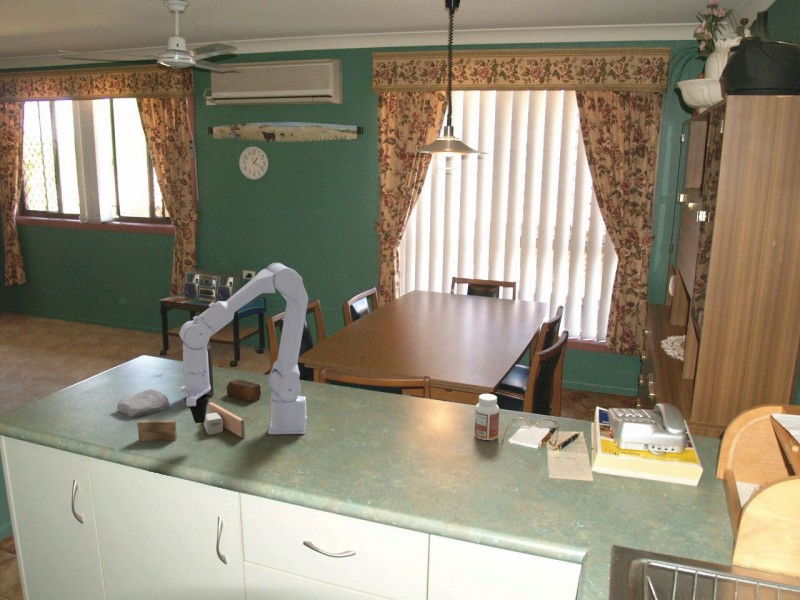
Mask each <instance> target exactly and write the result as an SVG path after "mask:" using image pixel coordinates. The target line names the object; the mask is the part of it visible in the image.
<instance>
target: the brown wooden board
mask: <svg viewBox="0 0 800 600" xmlns="http://www.w3.org/2000/svg"><path fill="white" fill-rule="evenodd" d="M137 431H138V433H137V434H138V441H139V442H154V441H155V442H157V441H158V442H159V441H160V442H161V441H163V442H164V441H166V442H167V441H177V438H178V436H177V435H178V434H177V433H178V432H177V420H176V419H172V420H171V419H164V420H163V419H158V420H157V419H156V420H138V421H137Z"/></svg>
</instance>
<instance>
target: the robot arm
mask: <svg viewBox="0 0 800 600" xmlns="http://www.w3.org/2000/svg"><path fill="white" fill-rule="evenodd" d="M276 291H278V292H279V294H280V295H281V297H283V299H285V301H286V306H285V311H284V318H283V325H282V330H281V335H280V342H279V348H278V354H277V359H276V360H275V362H274V363H273V364H272V365H273V366H272V368H271V371H270V373H268V376H267V385H268V386H269V388H270V389H271V393H270V398H269V399H270V425H269V428H268V432H267V434H268V435H297V434H298V435H302V434H303V435H304V434H305V433H306V430H307V429H306V428H307V424H308V416H307V397H306V396H302V395H300V394H301V391H302V384H301V382H300V377H301V373H300V370H299V369H300V368H299V364H298V363H299V355H300V350H301V346H302V345H301V344H302V339H303V338H302V337H303V332H304V327H305V321H306V316H307V309H308V303H309V296H308V293H307V290H306V288H305V286H304V282H303V277H302V276H301V275H300V274H299V273H298V272H297V271H296V270H295V269H293V268H290V267H288V266H285V265H284V264H283V263H281V262H273V263H271V264H270V263H269V265H268V266H267V267H266V268H263V269H261V270H260V271H259V272H258V273H257V274H256V275H255V276H254V277H253V278H251V280H250V281H248V282H247V283H246V284H245V285H243V286H241V288H240V289H239V290H237V291H236V292H235V293H234V294H233V295H232V296H230V297H229V298H228V299H227V300H224V301H223V300H218V301H216V302H213V301H212V302H210V304H208V306H209V307H208V308H207V309H205V311H203V312H202V313H201V314H199V315H195V316H193V317H192V319H193V320H188V321H186V322H185V323H183V325H181V328H180V329H179V330H180V331H179V332H178V334H179V338H180V339H181V340H182V341H183V342H182V360H183V361H182V362H183V373H184V376H183V377H184V385H183V386H181V387H180V388H179V389H180V392H184V394H185V397H184V402H185V404H186V407H188V408H189V410H190V412H191V415H192V418H193V421H194V424H204V421H205V417H206V414H207V410H208V406H209V400H210V398H211V397H210V396H211V391H210V390H211V386H210V381H209V365H208V351H207V344H209V342H210V338H211V336H214V335H215V334H217V332H218V331H220V330H222V329H223V328H224V327H225V326H226V325H228V324H229V323H231V322H232V321H233V320H234V317H235V313H236V312H237V311H238V310H239V309H241V308H242V307H244V306H245V305H247V304H248V303H250V302H251V301H252V300H253V299H256V298H257V297H258V296H260V295H261V294H276Z"/></svg>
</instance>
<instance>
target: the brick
mask: <svg viewBox="0 0 800 600" xmlns="http://www.w3.org/2000/svg"><path fill="white" fill-rule="evenodd" d="M261 390H262V388H261V385H260V384H259V383H255V382H251V381H247V380H243V379H234V380H233V379H232V380H230V381H228V383H227V385H226V394H227V395H229V396H230V395H231V397H232V396H233V398H236V399H239V398H240V400H242V399H243V400H242V401H245V400H247V401H246V402H249V403H253V402H255V401H259V400H261V394H262V391H261Z"/></svg>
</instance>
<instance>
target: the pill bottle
mask: <svg viewBox="0 0 800 600" xmlns="http://www.w3.org/2000/svg"><path fill="white" fill-rule="evenodd" d="M497 403H498V397H497V395H495V394H491V393H482V394H479V396H478V403H476V406H475V414H474V415H475V416H474V436H475V437H476V438H477V439H478V438H479V440H480V439H482V440H481V441H484V440H490V441H494V440H496V439H498V436H499V427H500V426H499V424H500V407H499V405H498V404H497Z"/></svg>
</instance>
